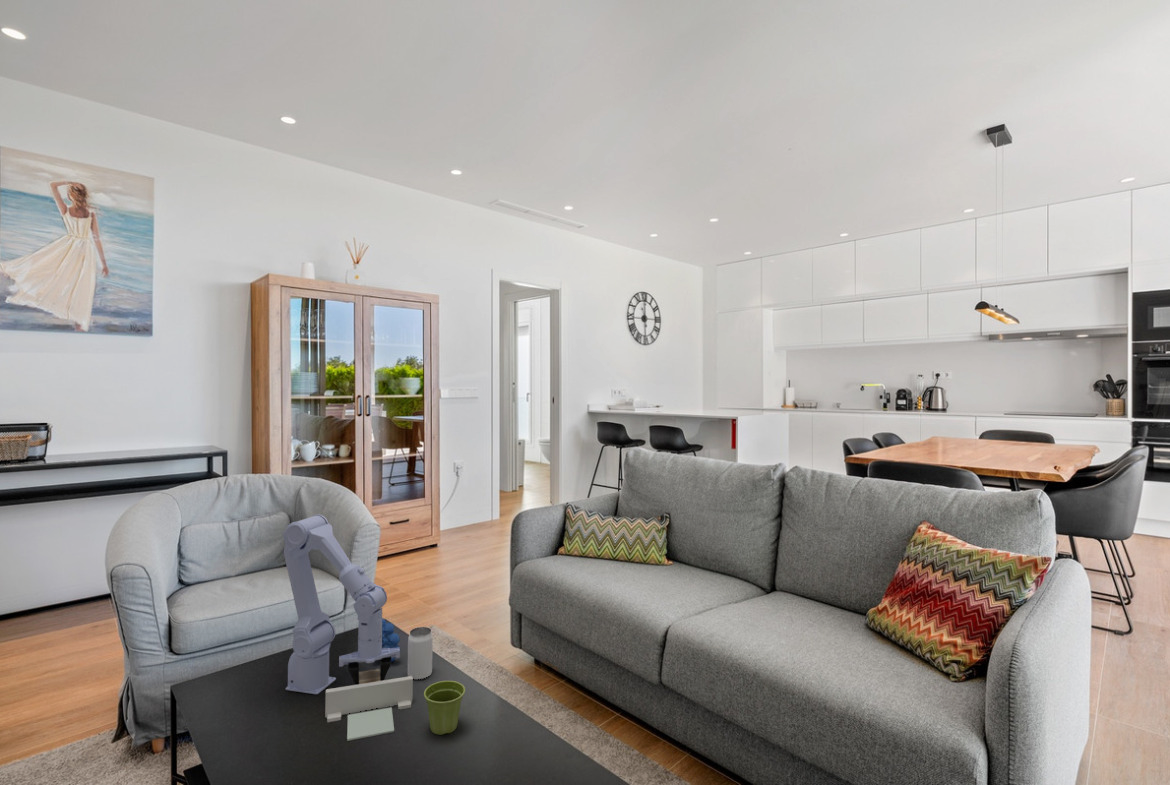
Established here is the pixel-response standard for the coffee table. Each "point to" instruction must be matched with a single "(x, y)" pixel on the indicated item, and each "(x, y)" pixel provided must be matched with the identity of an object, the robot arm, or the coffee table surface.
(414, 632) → the can
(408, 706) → the grey screen
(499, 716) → the coffee table surface
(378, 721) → the sage mat
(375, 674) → the maple cube
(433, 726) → the plant pot
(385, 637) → the grapes
